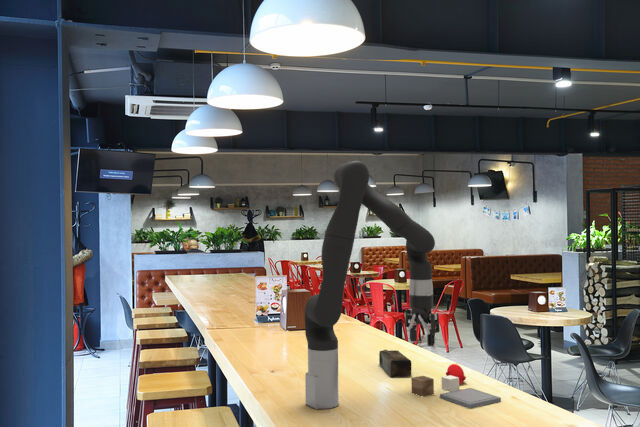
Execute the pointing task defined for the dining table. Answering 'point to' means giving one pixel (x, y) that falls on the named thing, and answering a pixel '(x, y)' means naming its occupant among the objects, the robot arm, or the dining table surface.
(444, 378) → the cream block
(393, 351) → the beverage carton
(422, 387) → the walnut block
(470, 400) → the plate
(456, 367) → the red rounded lumpy piece
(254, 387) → the dining table surface
